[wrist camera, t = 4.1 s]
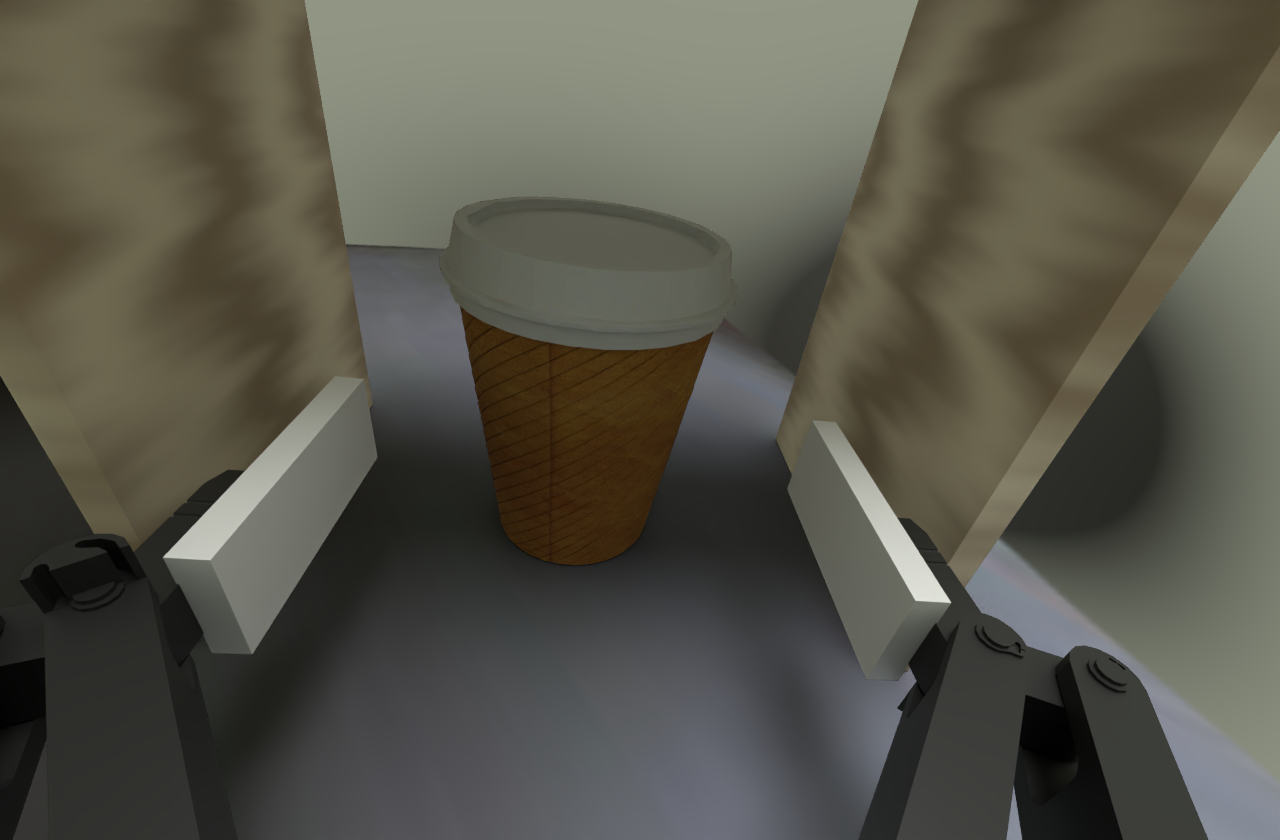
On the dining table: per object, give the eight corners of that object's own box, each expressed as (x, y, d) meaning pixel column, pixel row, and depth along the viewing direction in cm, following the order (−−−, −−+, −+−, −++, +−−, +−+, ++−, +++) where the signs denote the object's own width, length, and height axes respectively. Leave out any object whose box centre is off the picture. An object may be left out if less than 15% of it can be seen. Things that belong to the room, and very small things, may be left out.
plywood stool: (906, 671, 18) (1762, -572, 6) (159, 643, 16) (-1204, -1656, 3) (792, 440, 30) (992, -136, 17) (352, 403, 28) (217, -299, 15)
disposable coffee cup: (569, 424, 29) (585, 187, 22) (720, 510, 24) (795, 247, 18) (410, 511, 22) (366, 204, 15) (582, 651, 17) (620, 307, 11)
